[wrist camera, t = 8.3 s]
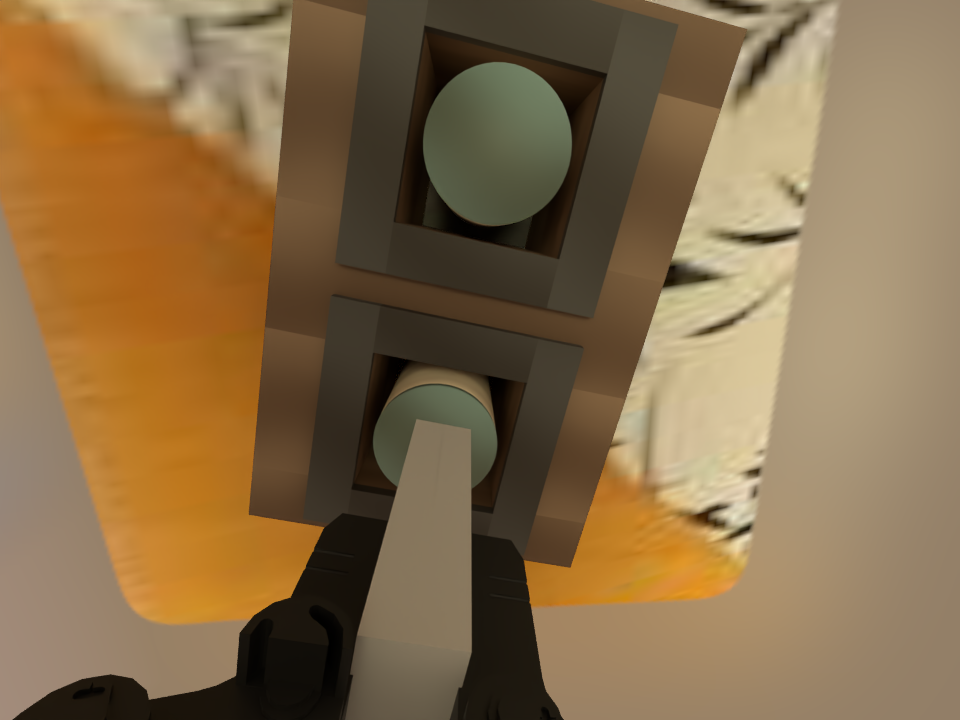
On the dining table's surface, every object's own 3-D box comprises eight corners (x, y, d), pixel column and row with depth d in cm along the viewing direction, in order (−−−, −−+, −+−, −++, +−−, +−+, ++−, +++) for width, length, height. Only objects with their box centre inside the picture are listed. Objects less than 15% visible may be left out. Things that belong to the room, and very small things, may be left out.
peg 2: (450, 121, 19) (438, 43, 11) (540, 143, 20) (589, 83, 12) (433, 216, 20) (411, 207, 12) (518, 235, 21) (550, 239, 13)
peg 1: (414, 321, 22) (383, 375, 14) (494, 338, 22) (509, 400, 14) (401, 397, 23) (364, 487, 15) (477, 412, 23) (482, 508, 15)
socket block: (369, 37, 19) (295, -108, 11) (638, 107, 20) (756, 22, 12) (320, 422, 24) (243, 521, 16) (538, 462, 25) (572, 575, 17)
